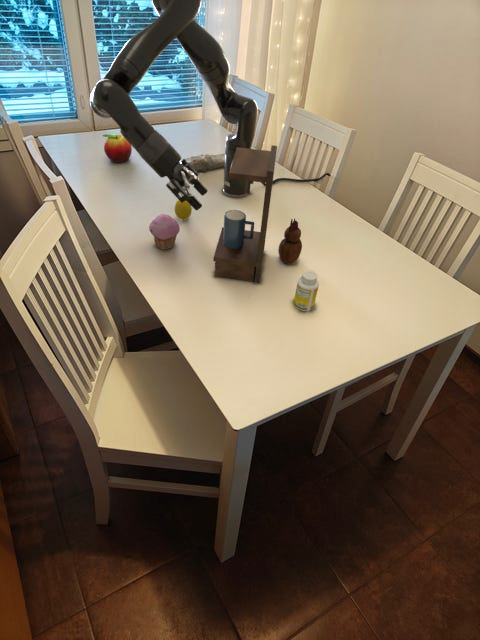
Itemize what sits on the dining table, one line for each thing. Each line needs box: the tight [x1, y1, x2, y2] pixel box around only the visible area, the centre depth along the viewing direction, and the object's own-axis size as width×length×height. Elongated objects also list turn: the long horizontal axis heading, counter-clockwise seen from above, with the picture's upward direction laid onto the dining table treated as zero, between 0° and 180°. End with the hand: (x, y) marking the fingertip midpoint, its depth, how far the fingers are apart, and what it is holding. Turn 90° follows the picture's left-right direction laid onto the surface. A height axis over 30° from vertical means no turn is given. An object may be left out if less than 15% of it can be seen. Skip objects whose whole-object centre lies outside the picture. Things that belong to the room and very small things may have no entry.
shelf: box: [212, 145, 278, 284], centre depth 120 cm, size 14×16×33 cm
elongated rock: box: [180, 153, 225, 172], centre depth 179 cm, size 35×5×10 cm
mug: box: [223, 209, 255, 249], centre depth 123 cm, size 8×6×9 cm
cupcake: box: [148, 213, 181, 250], centre depth 132 cm, size 9×9×10 cm
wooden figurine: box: [277, 217, 303, 265], centre depth 129 cm, size 7×6×15 cm
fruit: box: [102, 133, 133, 163], centre depth 175 cm, size 11×11×10 cm
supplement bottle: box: [293, 270, 320, 312], centre depth 115 cm, size 6×6×10 cm
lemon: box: [174, 199, 193, 221], centre depth 145 cm, size 6×6×8 cm
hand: (202, 200), depth 118 cm, fingers open, 8 cm apart
